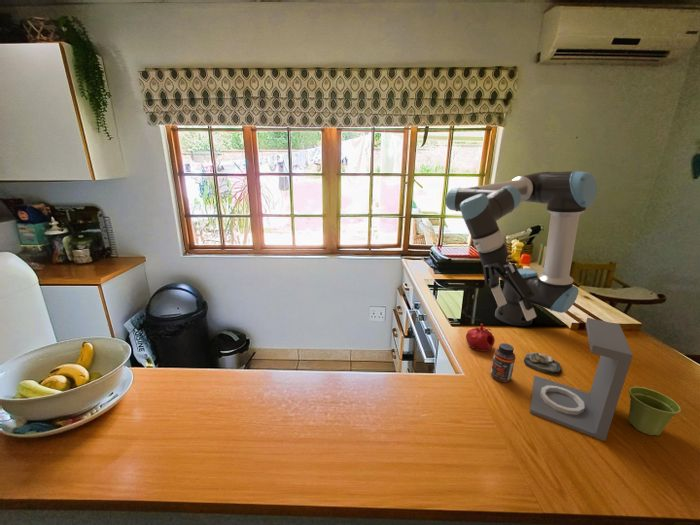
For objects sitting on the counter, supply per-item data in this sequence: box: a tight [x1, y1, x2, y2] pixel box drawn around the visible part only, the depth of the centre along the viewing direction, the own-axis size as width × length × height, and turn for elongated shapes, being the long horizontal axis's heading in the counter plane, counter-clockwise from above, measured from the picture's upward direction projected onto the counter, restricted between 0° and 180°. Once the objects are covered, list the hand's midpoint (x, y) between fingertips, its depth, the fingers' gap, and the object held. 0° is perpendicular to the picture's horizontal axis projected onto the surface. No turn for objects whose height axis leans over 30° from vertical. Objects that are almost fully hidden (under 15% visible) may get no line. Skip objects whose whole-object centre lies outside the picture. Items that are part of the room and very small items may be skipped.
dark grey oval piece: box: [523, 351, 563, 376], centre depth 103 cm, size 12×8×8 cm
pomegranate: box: [465, 323, 496, 352], centre depth 112 cm, size 10×10×9 cm
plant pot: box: [628, 386, 682, 437], centre depth 77 cm, size 9×9×9 cm
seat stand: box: [529, 317, 633, 442], centre depth 81 cm, size 18×16×24 cm
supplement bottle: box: [490, 342, 516, 383], centre depth 94 cm, size 6×6×11 cm
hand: (515, 311), depth 89 cm, fingers open, 13 cm apart
